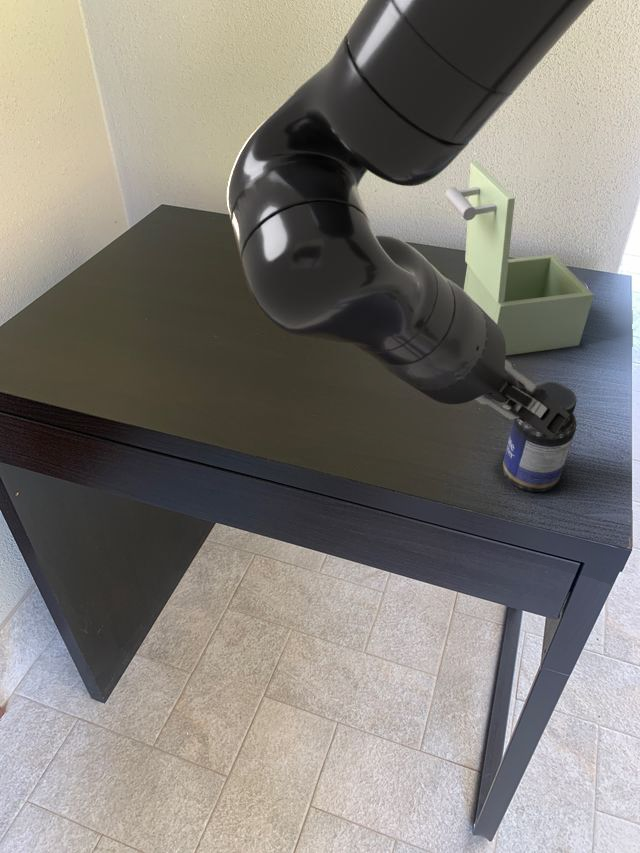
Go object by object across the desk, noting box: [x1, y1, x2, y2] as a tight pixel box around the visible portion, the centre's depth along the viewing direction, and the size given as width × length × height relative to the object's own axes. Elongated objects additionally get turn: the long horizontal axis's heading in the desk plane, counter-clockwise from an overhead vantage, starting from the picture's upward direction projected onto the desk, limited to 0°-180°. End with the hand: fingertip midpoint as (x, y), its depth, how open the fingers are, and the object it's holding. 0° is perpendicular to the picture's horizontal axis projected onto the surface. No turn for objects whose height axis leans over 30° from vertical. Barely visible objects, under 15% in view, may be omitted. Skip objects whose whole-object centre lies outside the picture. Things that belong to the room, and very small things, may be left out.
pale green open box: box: [463, 253, 595, 356], centre depth 93 cm, size 13×11×8 cm
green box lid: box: [445, 161, 516, 303], centre depth 85 cm, size 14×11×5 cm
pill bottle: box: [502, 380, 578, 493], centre depth 71 cm, size 6×6×11 cm
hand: (511, 399), depth 62 cm, fingers open, 8 cm apart
